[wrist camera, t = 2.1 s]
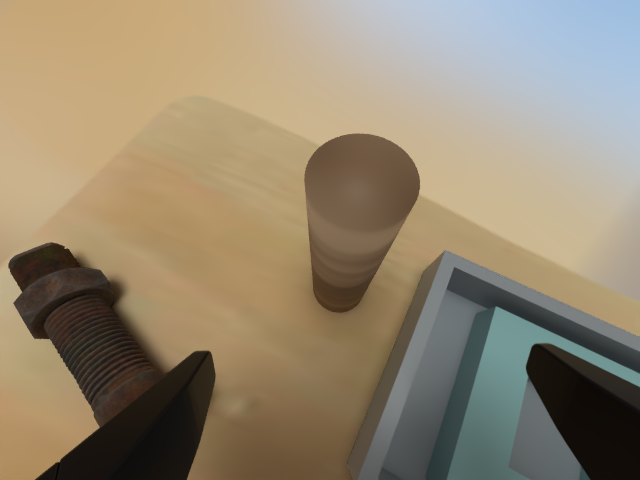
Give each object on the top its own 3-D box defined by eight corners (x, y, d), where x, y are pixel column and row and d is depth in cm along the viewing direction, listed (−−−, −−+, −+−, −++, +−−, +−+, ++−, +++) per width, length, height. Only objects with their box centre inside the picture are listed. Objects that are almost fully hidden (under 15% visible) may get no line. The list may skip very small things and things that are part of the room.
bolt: (89, 268, 24) (200, 420, 19) (3, 300, 20) (113, 495, 16) (74, 214, 20) (207, 385, 15) (-34, 241, 17) (95, 474, 12)
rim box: (702, 686, 14) (843, 803, 10) (347, 462, 17) (354, 487, 13) (702, 401, 18) (799, 408, 15) (424, 270, 22) (445, 250, 18)
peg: (350, 321, 20) (394, 249, 8) (304, 297, 21) (283, 198, 9) (371, 276, 21) (435, 158, 10) (327, 254, 22) (336, 119, 10)
